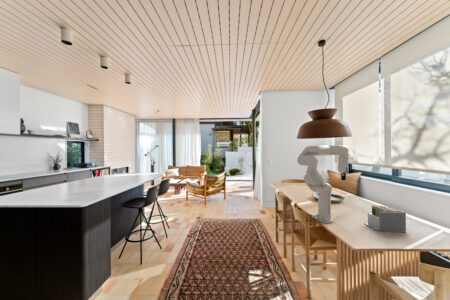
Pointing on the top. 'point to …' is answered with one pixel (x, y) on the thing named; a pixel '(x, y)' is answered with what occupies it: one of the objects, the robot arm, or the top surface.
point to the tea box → (381, 210)
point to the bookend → (373, 222)
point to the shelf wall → (393, 221)
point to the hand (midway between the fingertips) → (343, 180)
